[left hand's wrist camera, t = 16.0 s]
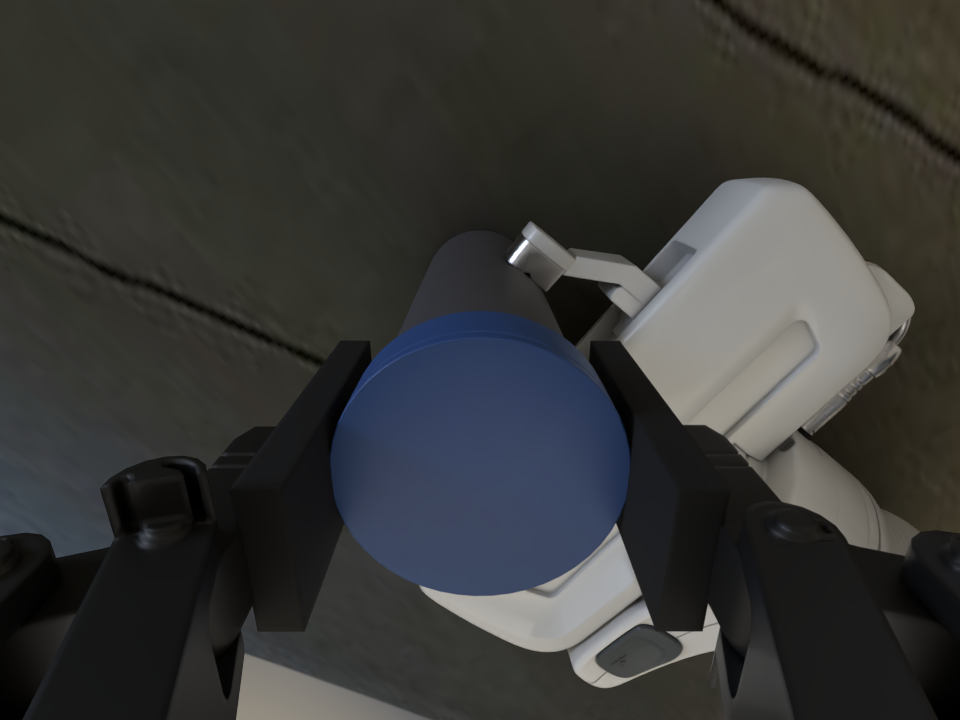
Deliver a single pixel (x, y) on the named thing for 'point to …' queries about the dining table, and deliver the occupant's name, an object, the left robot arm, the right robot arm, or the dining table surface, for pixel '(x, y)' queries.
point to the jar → (477, 283)
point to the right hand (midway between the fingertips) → (459, 311)
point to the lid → (480, 456)
